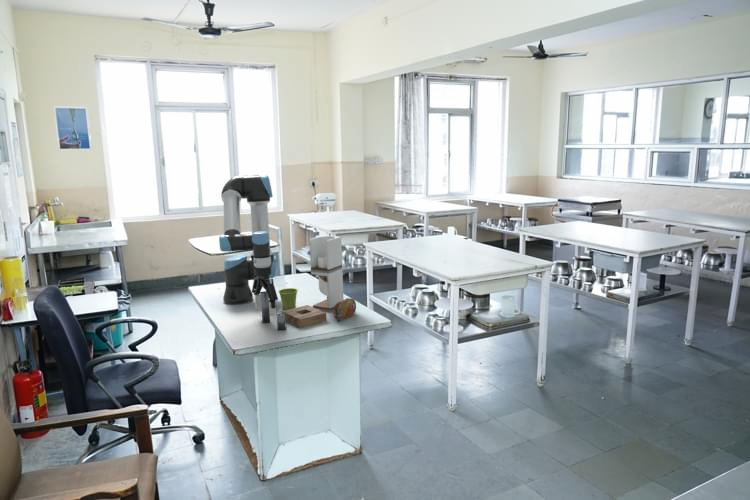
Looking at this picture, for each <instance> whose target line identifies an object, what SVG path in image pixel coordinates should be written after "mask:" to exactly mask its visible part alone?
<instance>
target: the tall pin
mask: <svg viewBox="0 0 750 500" xmlns="http://www.w3.org/2000/svg"><path fill="white" fill-rule="evenodd" d="M260 295H261V308H260V310H261V322H262V323H263V324H268V323H271V316H270V311H269V297H268V295H267V292H266V290H265V291H260Z"/></svg>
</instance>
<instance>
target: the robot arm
mask: <svg viewBox="0 0 750 500" xmlns="http://www.w3.org/2000/svg"><path fill="white" fill-rule="evenodd" d="M220 195H221V198H220V199H221V202H223V234H222V235H219V238H218V243H219V249H220V251H221V252H223V253H224V252H225V253H226V252H229V253H230V252H238V251H239V252H240V251H252V252H251V253H250V257H248V256H247V255H246V254H239V255H234V256H229V257H228V258H226V259H225V260H224V262H223V267H224V268H223V270H224V281H225V290H224V294H223V298H222V299H223V303H224V304H227V305H240V304H246V303H250V302H252V301H253V300H254V303H255V304H254V305H255V310H259V309H261V295H260V292H262V288H263V289H264V290H265V291H266V292H267V295H268V297H269V311H270V317H271V316H277V312H276V311H277V309H276V308H277V307H276V301H278V300H279V298H278V294H277V290H276V287H275V284H274V279H273V278H275V277H276V273H277V272H276V271H277V256H276V255H274V252H273V251H272V250H271V240H270V226H269V223H270V222H269V209H268V204H269V203H270V202H271V198H273V191H272V186H271V180H270V177H269V176H268V175H266V174H251V175H236V176H233V177H232V178H230V179H229V180H227V182H226V183H225V184H224V186H223V187H222V190H221V194H220ZM242 199H245V200H246V203H247V204H248V205H249V206H250V207H249V208H250V219H251V233H241V230H242V229H241V209H240V208H241V207H240V202H241V200H242ZM249 281H253V282H252V287H250V285H249V283H250V282H249ZM251 288H252V289H251Z"/></svg>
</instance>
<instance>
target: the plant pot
mask: <svg viewBox="0 0 750 500" xmlns="http://www.w3.org/2000/svg"><path fill="white" fill-rule="evenodd" d="M298 291H299V290H298V288H293V287H291V288H290V287H289V288H283V289H280V290H279V291H278V293H279V295H280V300H281V304H282V308H283V309H284V310H289V309H293V308H296V306H297V305H296V304H297V294H298Z"/></svg>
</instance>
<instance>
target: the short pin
mask: <svg viewBox="0 0 750 500" xmlns="http://www.w3.org/2000/svg"><path fill="white" fill-rule="evenodd" d="M276 329H277V331H278V332H282V331H283V332H284V331H286V329H287V327H286V321H285V313H282V312H279V313H276Z"/></svg>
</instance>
